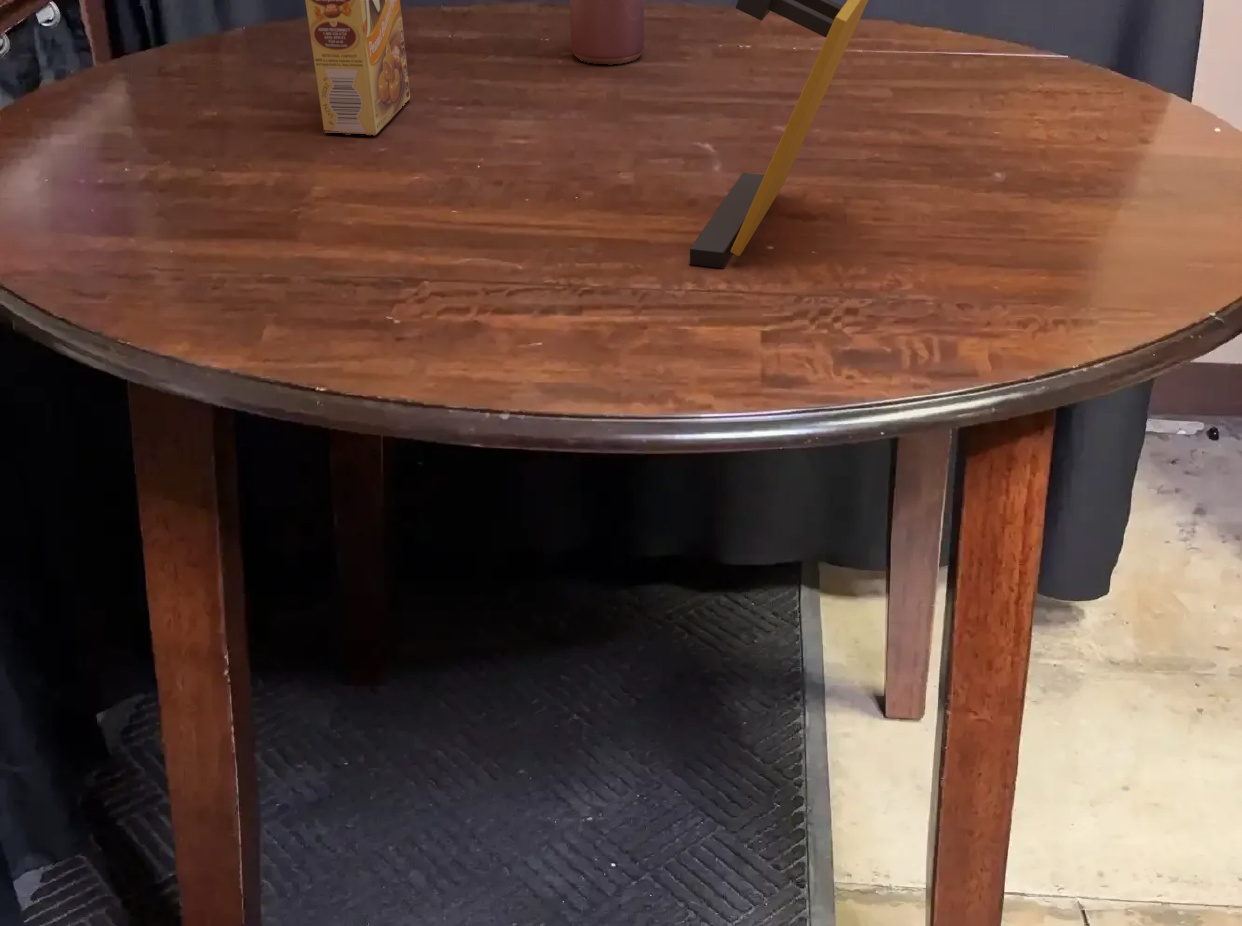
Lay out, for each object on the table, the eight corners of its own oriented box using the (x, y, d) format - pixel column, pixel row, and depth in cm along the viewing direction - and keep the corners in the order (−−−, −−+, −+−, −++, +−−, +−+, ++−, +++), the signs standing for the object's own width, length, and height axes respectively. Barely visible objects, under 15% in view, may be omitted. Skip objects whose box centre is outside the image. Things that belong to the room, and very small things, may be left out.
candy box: (378, 138, 99) (351, -102, 90) (320, 136, 99) (287, -103, 90) (412, 100, 106) (391, -126, 97) (358, 98, 106) (332, -127, 97)
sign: (882, -32, 80) (789, -77, 80) (846, 21, 71) (741, -30, 71) (783, 185, 89) (699, 144, 89) (739, 257, 80) (645, 211, 80)
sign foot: (772, 190, 90) (773, 175, 89) (723, 268, 80) (724, 252, 79) (741, 187, 90) (742, 172, 90) (689, 265, 80) (689, 248, 80)
